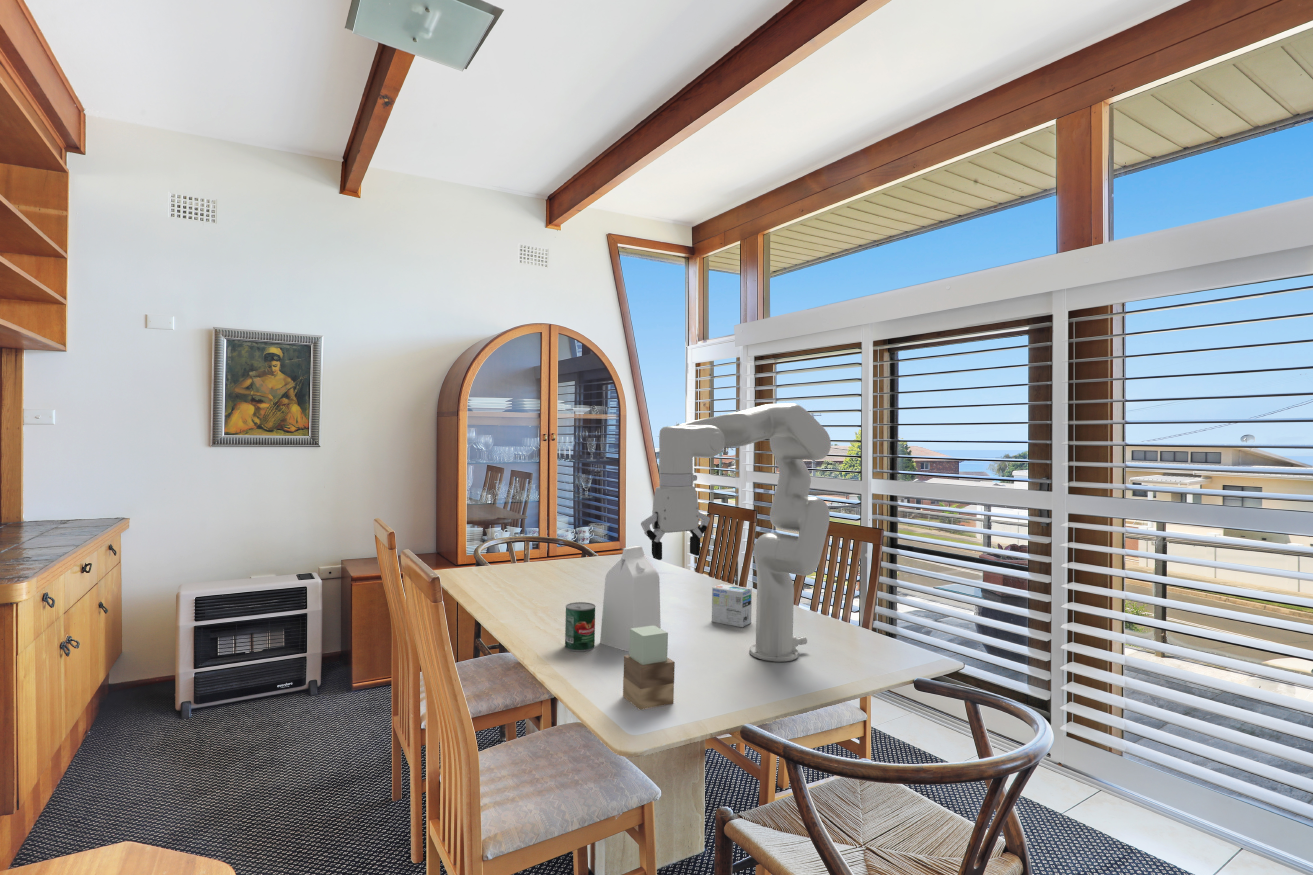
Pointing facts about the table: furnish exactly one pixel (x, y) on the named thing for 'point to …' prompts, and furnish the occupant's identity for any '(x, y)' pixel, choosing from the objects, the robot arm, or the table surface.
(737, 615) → the light bulb box
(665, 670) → the walnut slab
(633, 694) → the oak slab
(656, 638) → the sage cube
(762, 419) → the robot arm
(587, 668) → the table surface
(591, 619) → the canned tomato
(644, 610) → the milk
